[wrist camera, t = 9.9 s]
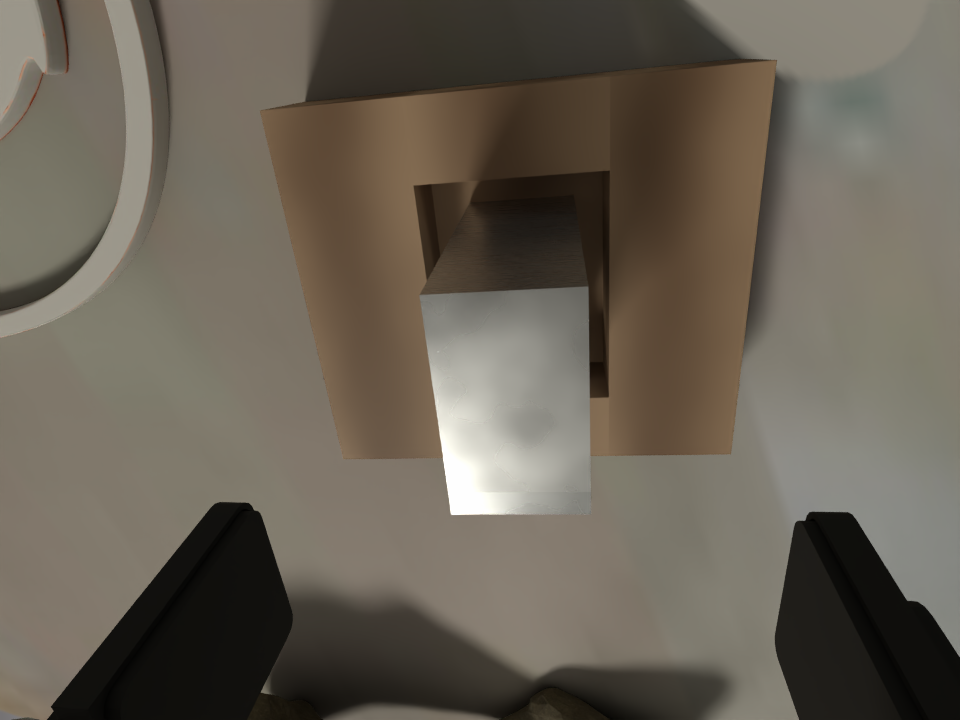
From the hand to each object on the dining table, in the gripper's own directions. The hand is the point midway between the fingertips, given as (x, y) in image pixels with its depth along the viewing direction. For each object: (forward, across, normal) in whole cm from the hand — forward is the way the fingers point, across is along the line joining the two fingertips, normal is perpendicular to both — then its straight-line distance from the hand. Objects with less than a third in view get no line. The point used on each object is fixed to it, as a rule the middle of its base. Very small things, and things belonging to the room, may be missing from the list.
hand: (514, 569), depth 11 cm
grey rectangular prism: (+16, +1, 0) cm, 16 cm away
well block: (+16, +1, 0) cm, 17 cm away
